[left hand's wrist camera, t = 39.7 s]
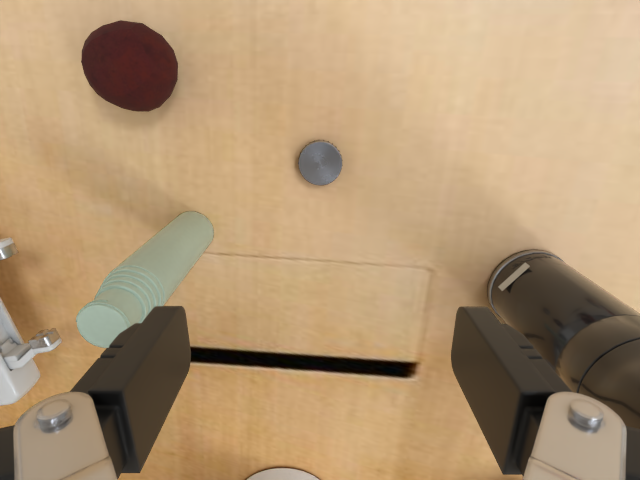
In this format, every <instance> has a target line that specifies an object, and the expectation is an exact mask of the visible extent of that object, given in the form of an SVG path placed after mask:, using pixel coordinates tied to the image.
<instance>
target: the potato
mask: <svg viewBox="0 0 640 480" xmlns="http://www.w3.org/2000/svg"><path fill="white" fill-rule="evenodd" d="M81 62H82V66H83V70H84V74H85V76H86V78H87V80H88V82H89V84H90V86H91V87H92V88H93V89H94V90H95V92H96V93H97V94H98V95H99V96H101V97H102V98H103V99H105V100H106V101H108V102H110V103H112V104H114V105H117V106H119V107H121V108H124V109H128V110H132V111H151V110H153V109H156V108H158V107H160V106H161V105H162V104H163V103H164V102H165V101H166V100H167V99H168V98H169V97H170V95H171V94H172V91H173V89H174V86H175V84H176V81H177V74H178V63H177V60H176V57H175V53H174V50H173V49H172V48H171V46H170V45H169V44H168V43H167V41H166V40H165V39H164V38H163V36H162V35H160V34H158V33H157V32H155V31H153V30H152V29H150V28H149V27H147V26H146V25H144V24H143V23H135V22H128V21H117V22H114V23H111V24H107V25H103V26H101V27H100V28H98V29H97V30H95V31H93V32H92V33H91V34H90V35H89V37H88V38H87V39H86V41H85V43H84V46H83V49H82V61H81Z"/></svg>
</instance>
